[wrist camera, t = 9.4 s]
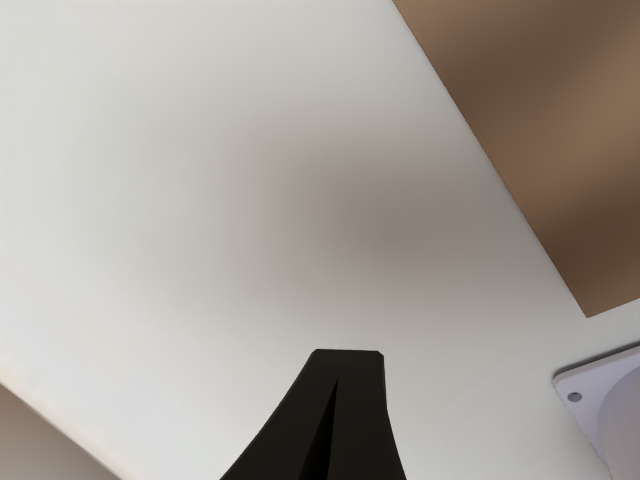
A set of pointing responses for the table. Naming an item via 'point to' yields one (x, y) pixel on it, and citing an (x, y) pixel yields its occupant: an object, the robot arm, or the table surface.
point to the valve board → (553, 122)
